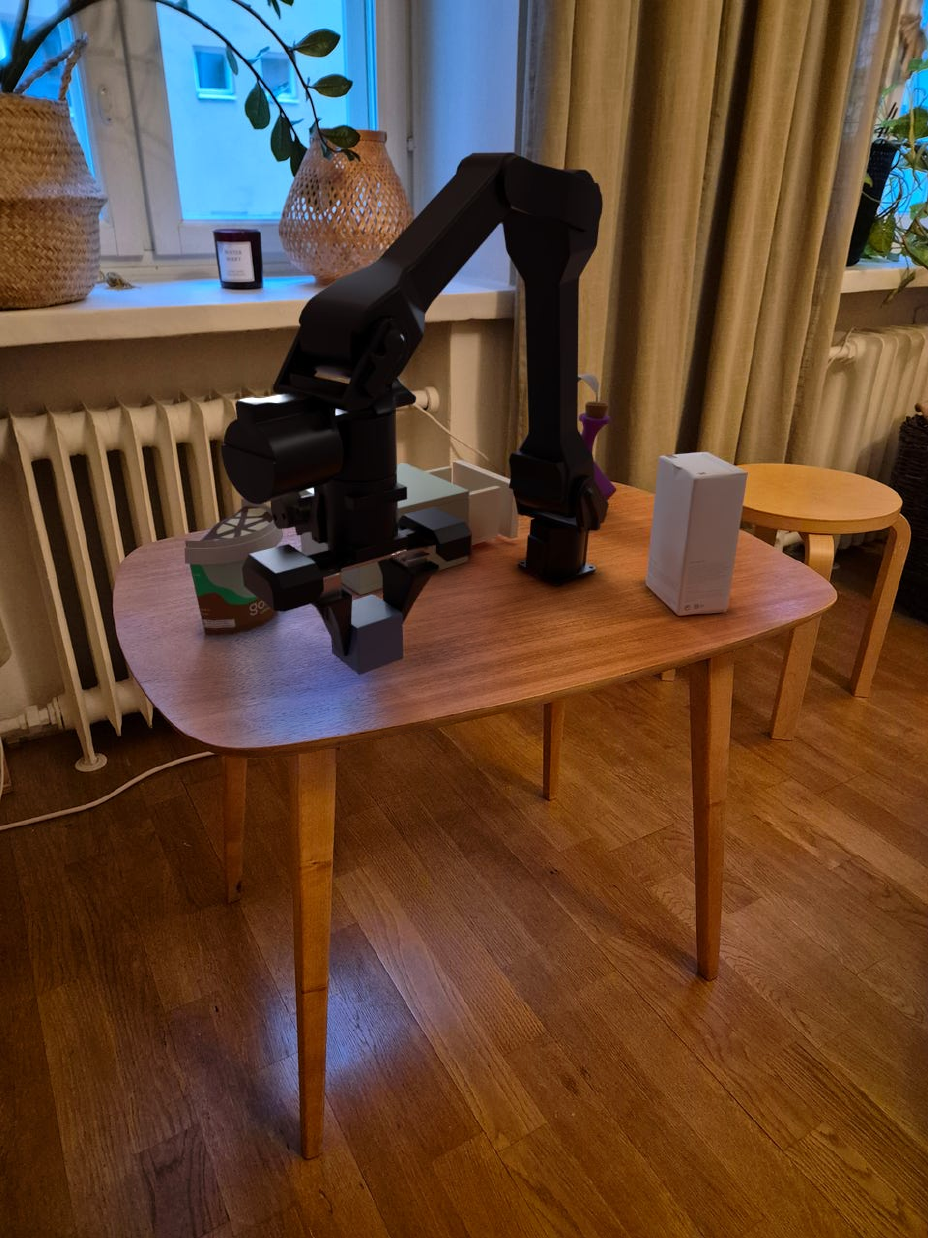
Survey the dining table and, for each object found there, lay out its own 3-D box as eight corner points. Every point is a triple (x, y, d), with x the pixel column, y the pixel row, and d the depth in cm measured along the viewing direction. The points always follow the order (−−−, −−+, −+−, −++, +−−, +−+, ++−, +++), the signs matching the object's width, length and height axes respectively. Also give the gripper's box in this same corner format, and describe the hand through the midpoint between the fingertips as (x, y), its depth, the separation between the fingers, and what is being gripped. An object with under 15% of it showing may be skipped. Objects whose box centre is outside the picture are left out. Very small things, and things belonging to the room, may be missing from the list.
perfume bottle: (614, 512, 107) (631, 375, 99) (581, 526, 102) (596, 384, 94) (570, 498, 112) (582, 366, 103) (536, 511, 107) (546, 374, 98)
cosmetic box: (727, 613, 82) (755, 473, 75) (673, 618, 81) (697, 476, 74) (689, 578, 89) (711, 448, 82) (639, 583, 88) (657, 451, 81)
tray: (484, 503, 107) (486, 453, 103) (543, 529, 99) (547, 476, 96) (372, 532, 97) (370, 478, 93) (428, 564, 89) (428, 506, 86)
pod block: (375, 638, 72) (373, 593, 70) (403, 658, 69) (402, 612, 67) (331, 653, 69) (328, 607, 67) (359, 675, 66) (357, 628, 64)
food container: (258, 649, 73) (247, 549, 69) (197, 641, 74) (181, 542, 70) (308, 592, 84) (301, 502, 79) (253, 585, 85) (243, 496, 80)
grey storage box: (405, 528, 100) (404, 462, 96) (467, 561, 92) (469, 490, 88) (301, 556, 92) (296, 484, 88) (360, 595, 84) (356, 518, 80)
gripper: (400, 429, 72) (402, 584, 79) (201, 465, 61) (225, 640, 69) (478, 459, 64) (473, 628, 72) (266, 506, 54) (286, 698, 61)
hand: (367, 645), depth 69 cm, fingers closed on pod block, 4 cm apart
